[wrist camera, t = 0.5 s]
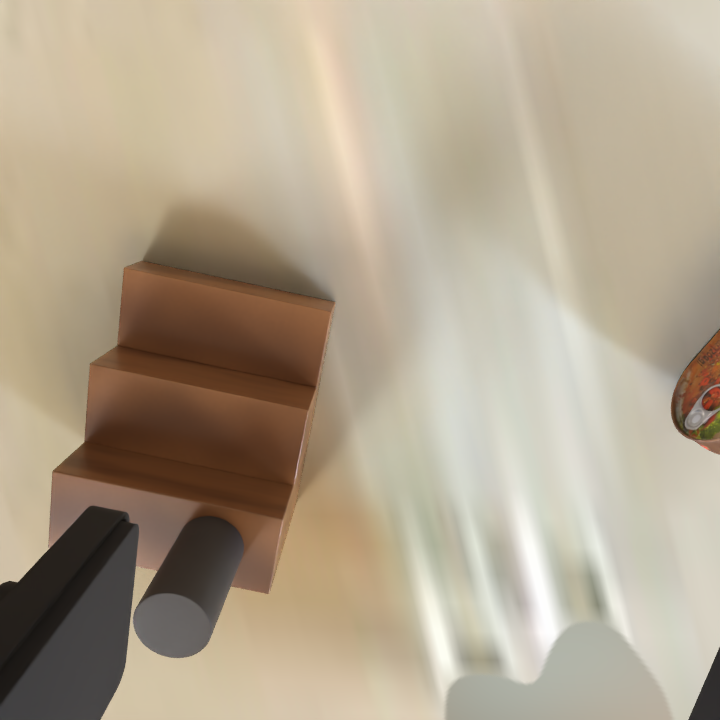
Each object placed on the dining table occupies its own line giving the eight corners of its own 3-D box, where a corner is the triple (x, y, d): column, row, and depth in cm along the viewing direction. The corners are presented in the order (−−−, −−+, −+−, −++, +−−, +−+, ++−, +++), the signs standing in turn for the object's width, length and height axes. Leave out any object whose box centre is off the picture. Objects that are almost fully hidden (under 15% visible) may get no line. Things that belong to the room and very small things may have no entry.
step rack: (141, 260, 44) (61, 291, 34) (335, 301, 44) (316, 345, 34) (122, 465, 49) (47, 548, 39) (296, 502, 49) (269, 594, 39)
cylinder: (182, 509, 37) (136, 585, 31) (248, 523, 37) (216, 602, 31) (175, 564, 38) (129, 649, 32) (239, 578, 39) (206, 665, 32)
